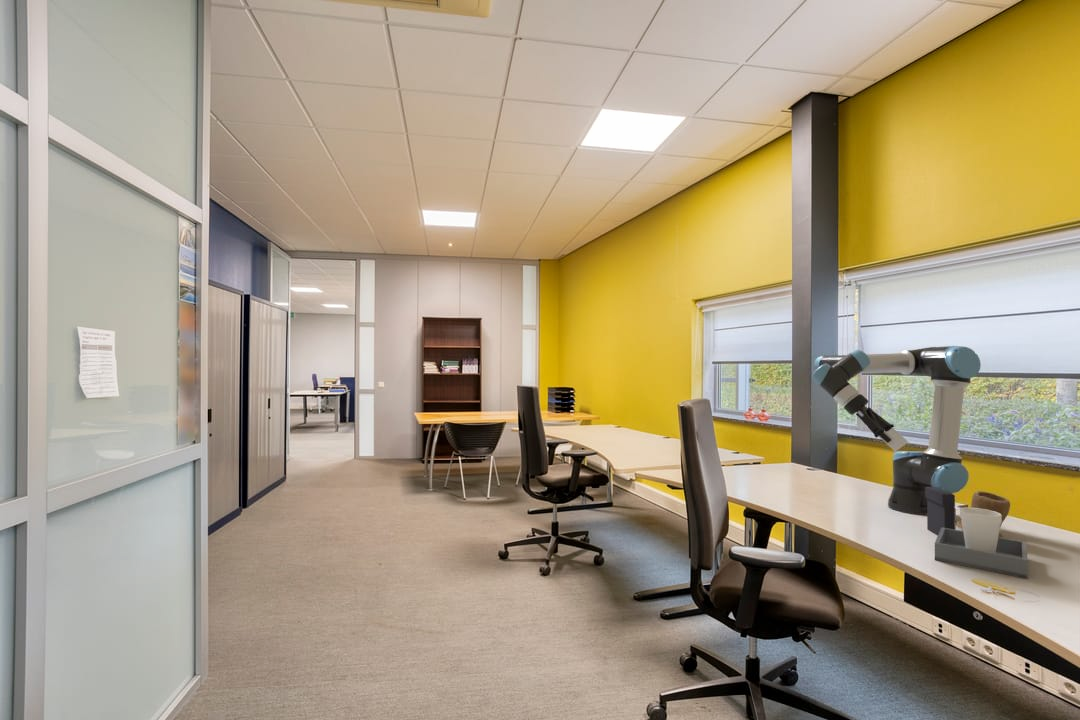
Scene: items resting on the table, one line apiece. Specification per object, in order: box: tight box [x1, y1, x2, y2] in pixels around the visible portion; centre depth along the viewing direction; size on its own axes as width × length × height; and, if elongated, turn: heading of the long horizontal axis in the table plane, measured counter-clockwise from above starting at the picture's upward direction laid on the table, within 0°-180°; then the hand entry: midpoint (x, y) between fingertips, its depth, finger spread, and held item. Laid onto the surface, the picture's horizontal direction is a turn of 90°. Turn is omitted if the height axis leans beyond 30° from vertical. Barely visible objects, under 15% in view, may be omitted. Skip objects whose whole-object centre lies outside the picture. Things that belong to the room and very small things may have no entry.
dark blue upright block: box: [925, 487, 957, 536], centre depth 176 cm, size 11×4×15 cm, turn 168°
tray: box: [934, 527, 1029, 580], centre depth 154 cm, size 20×20×5 cm
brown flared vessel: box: [956, 490, 1011, 538], centre depth 174 cm, size 15×12×15 cm
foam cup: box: [959, 506, 1003, 553], centre depth 154 cm, size 10×9×13 cm
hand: (902, 446), depth 176 cm, fingers open, 13 cm apart
